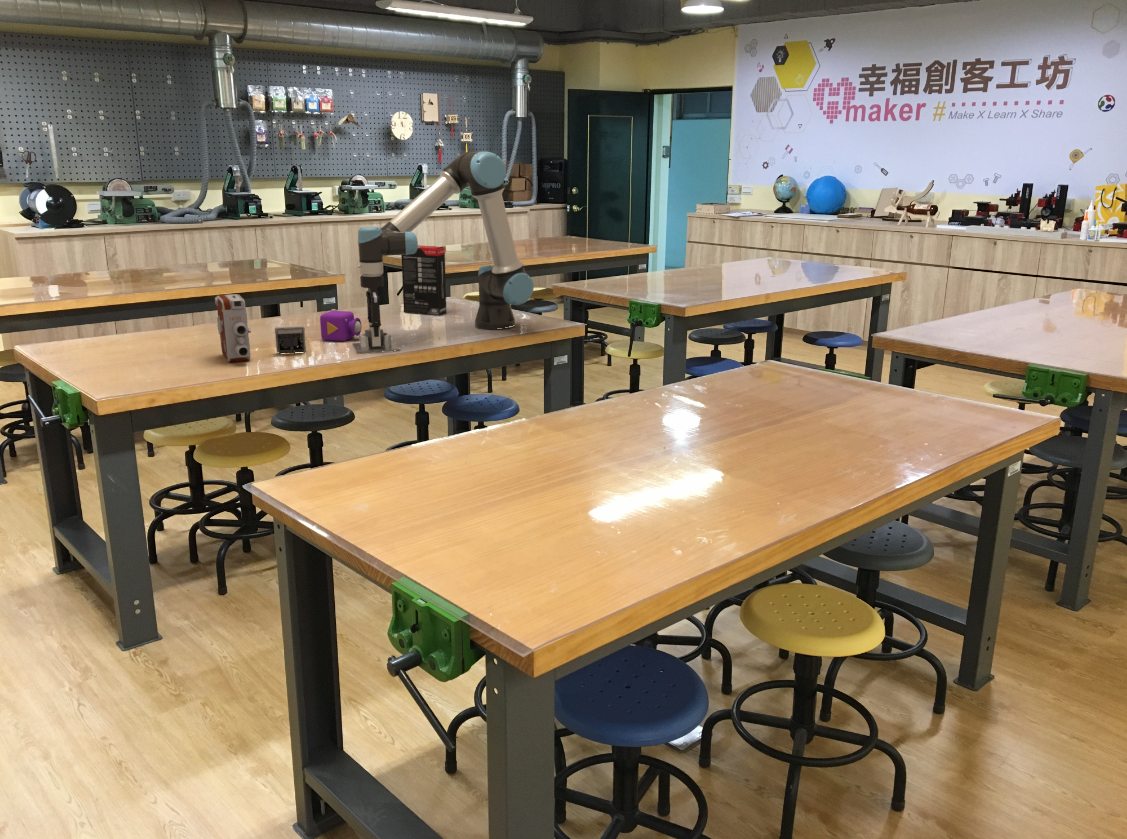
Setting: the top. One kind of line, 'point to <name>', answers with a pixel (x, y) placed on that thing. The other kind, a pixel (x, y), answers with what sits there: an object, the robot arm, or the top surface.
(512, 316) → the robot arm
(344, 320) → the toy camera
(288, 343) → the electrical switch
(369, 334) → the dark grey cylinder
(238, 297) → the cine camera
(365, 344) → the grey square plate
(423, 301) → the graphics card box
